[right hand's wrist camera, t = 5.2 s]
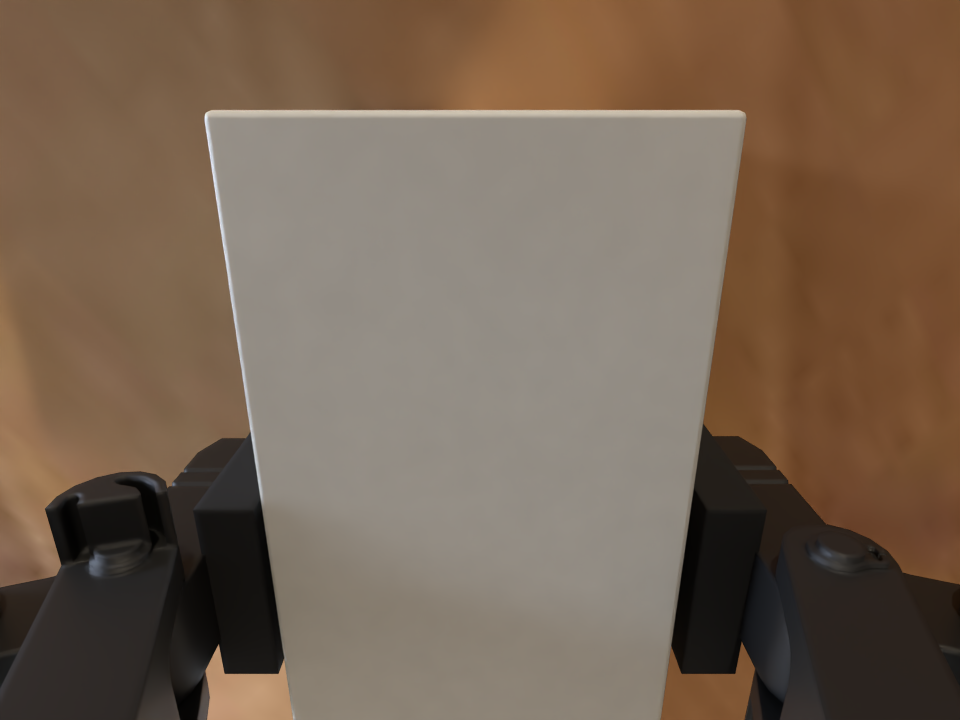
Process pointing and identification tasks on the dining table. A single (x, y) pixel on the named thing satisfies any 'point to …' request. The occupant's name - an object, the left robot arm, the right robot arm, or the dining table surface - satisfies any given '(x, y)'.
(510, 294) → the post
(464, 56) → the dining table surface
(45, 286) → the dining table surface
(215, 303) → the dining table surface
